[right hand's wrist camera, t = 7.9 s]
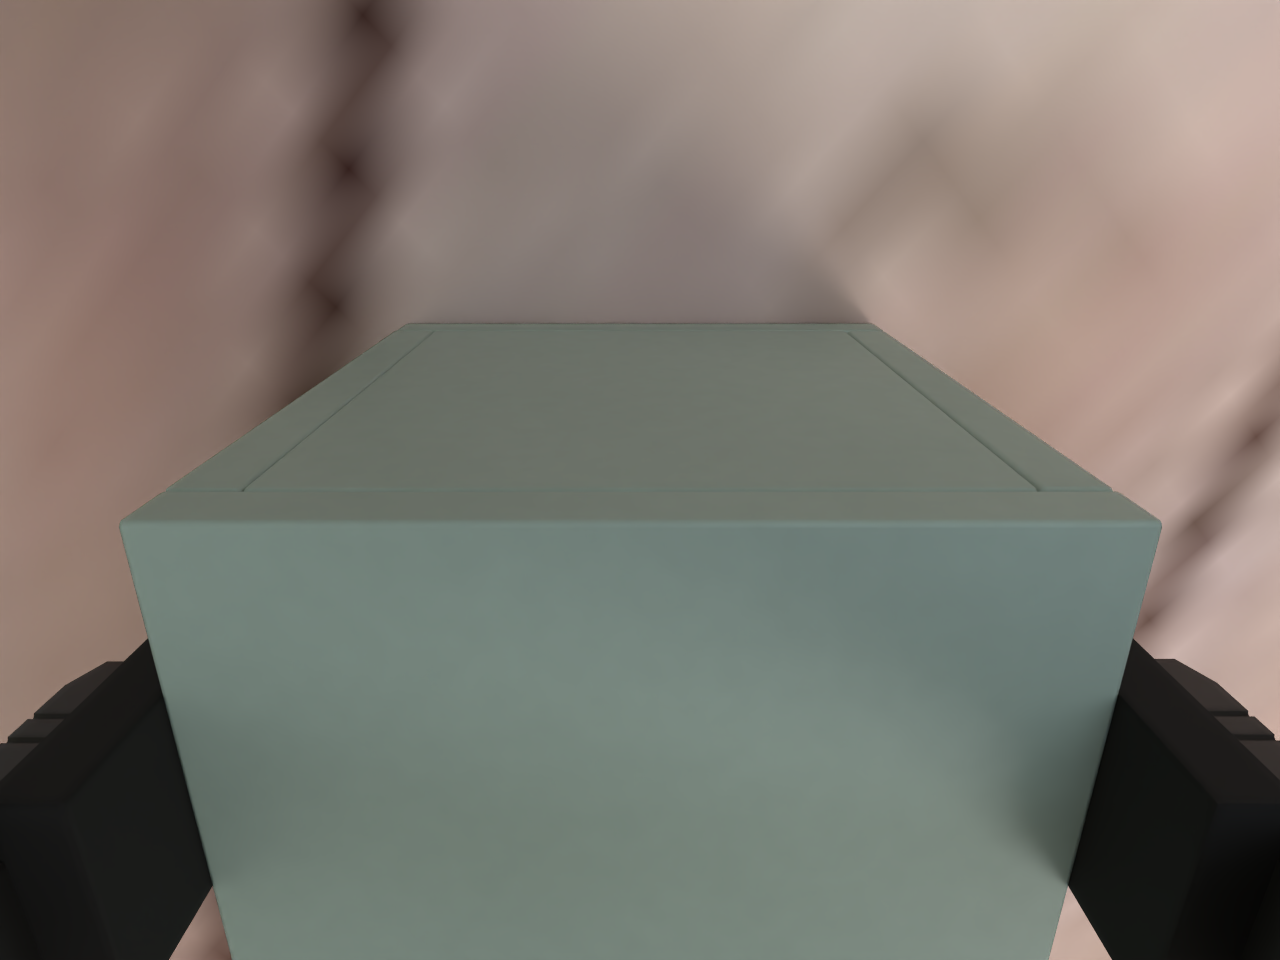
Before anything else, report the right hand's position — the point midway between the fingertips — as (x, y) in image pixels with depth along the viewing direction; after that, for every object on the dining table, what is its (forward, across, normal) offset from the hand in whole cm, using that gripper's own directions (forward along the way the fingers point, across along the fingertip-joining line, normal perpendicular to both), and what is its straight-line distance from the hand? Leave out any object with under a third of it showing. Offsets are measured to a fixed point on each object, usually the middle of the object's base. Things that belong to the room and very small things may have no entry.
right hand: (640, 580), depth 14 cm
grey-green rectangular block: (+5, 0, -5) cm, 8 cm away
